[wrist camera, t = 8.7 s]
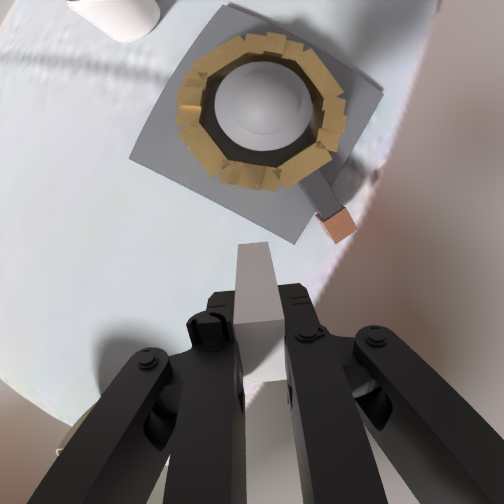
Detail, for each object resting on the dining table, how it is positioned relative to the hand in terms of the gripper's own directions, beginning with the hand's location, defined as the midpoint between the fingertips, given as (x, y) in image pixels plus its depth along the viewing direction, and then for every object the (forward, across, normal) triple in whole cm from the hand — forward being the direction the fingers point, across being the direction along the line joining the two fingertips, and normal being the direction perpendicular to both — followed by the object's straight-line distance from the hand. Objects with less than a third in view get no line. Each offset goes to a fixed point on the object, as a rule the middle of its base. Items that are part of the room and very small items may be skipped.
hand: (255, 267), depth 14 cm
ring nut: (+14, +4, +6) cm, 16 cm away
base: (+16, +2, +9) cm, 19 cm away
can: (+16, -11, +24) cm, 31 cm away
